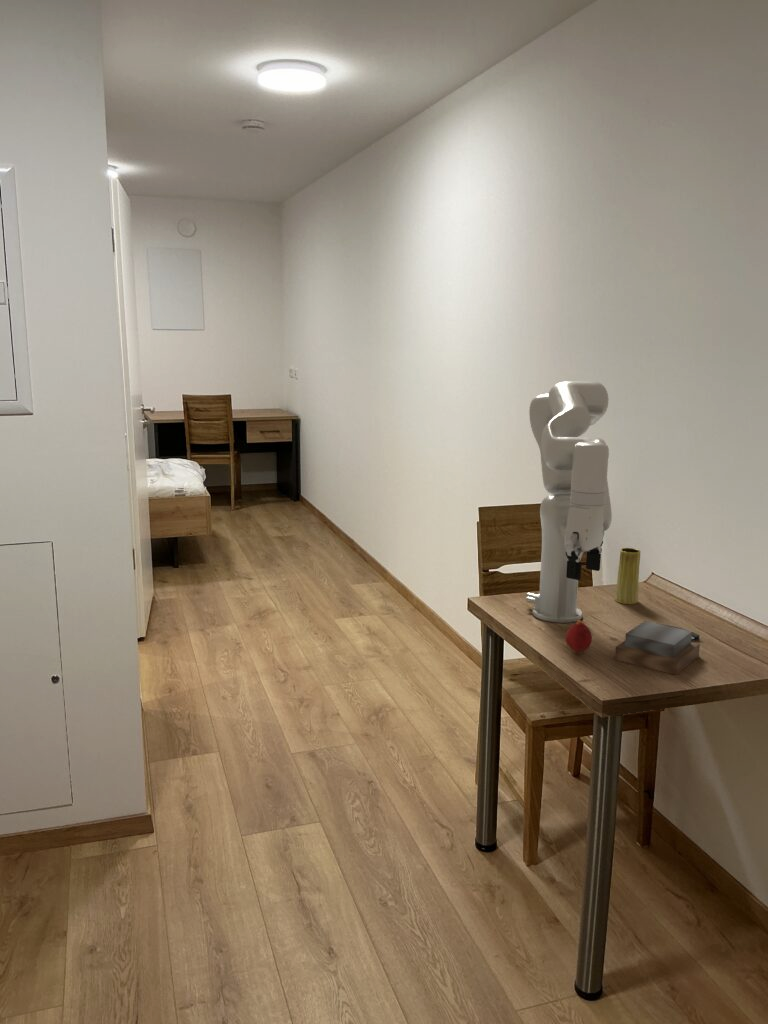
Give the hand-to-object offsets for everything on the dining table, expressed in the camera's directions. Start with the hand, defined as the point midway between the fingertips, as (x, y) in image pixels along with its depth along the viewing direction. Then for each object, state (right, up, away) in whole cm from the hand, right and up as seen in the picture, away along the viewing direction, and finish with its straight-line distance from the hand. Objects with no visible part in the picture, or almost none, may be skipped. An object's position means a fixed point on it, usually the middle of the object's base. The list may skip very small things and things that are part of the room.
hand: (583, 574), depth 195 cm
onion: (0, -19, +4) cm, 19 cm away
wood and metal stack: (+17, -19, +2) cm, 26 cm away
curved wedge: (+25, -17, +17) cm, 35 cm away
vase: (+21, -11, +42) cm, 49 cm away
